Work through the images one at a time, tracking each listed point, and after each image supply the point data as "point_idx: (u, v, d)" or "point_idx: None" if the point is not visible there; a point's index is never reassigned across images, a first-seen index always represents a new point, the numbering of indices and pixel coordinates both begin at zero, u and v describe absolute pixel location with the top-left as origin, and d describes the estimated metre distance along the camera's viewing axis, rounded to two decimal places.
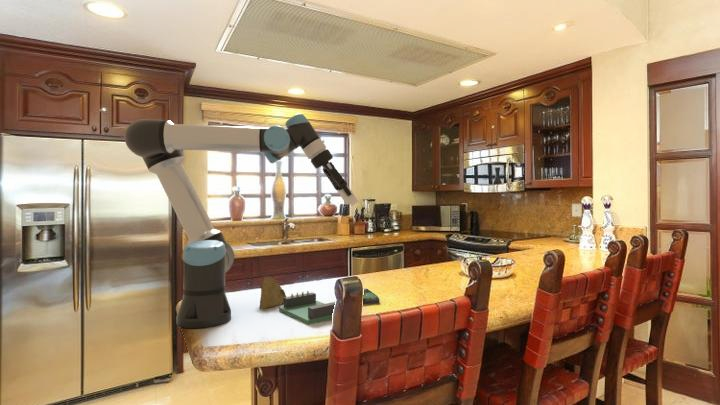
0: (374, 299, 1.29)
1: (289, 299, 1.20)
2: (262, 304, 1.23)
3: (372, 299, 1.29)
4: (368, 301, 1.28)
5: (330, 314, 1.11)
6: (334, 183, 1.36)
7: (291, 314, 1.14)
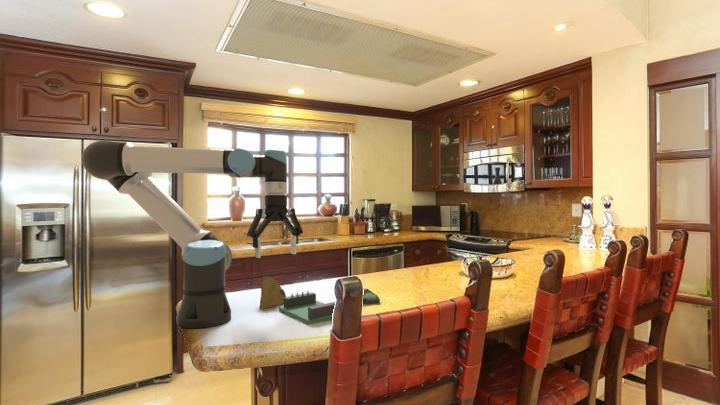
0: (374, 299, 1.29)
1: (289, 299, 1.20)
2: (262, 304, 1.23)
3: (372, 299, 1.29)
4: (368, 301, 1.28)
5: (330, 314, 1.11)
6: (287, 227, 1.32)
7: (291, 314, 1.14)
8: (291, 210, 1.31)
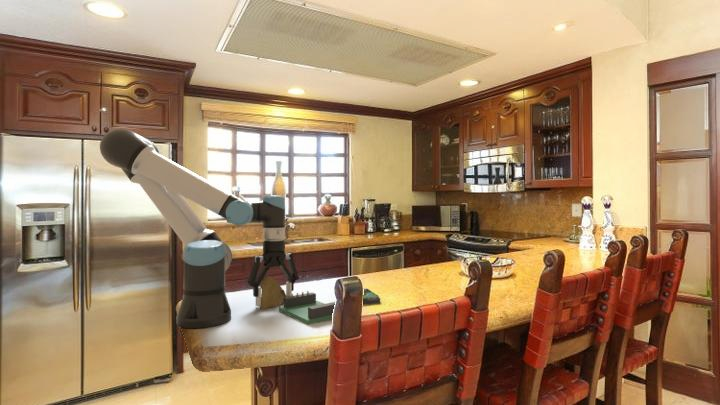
0: (375, 299, 1.29)
1: (289, 299, 1.20)
2: (263, 304, 1.23)
3: (373, 299, 1.29)
4: (369, 301, 1.29)
5: (330, 314, 1.11)
6: (284, 273, 1.31)
7: (291, 314, 1.14)
8: (289, 255, 1.31)
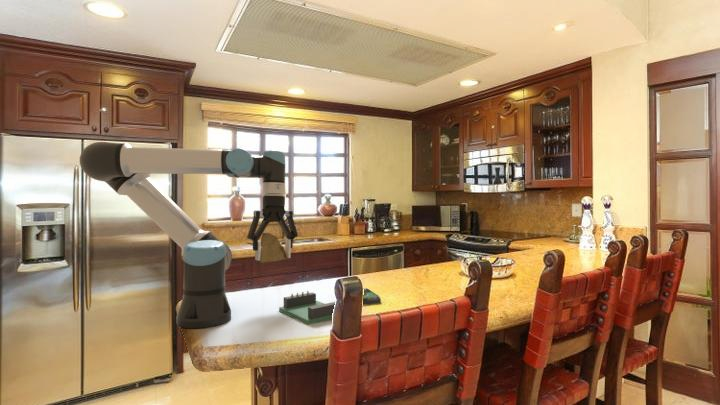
0: (375, 299, 1.29)
1: (289, 299, 1.20)
2: (262, 258, 1.23)
3: (373, 299, 1.29)
4: (369, 301, 1.29)
5: (330, 314, 1.11)
6: (283, 230, 1.31)
7: (291, 314, 1.14)
8: (289, 212, 1.31)
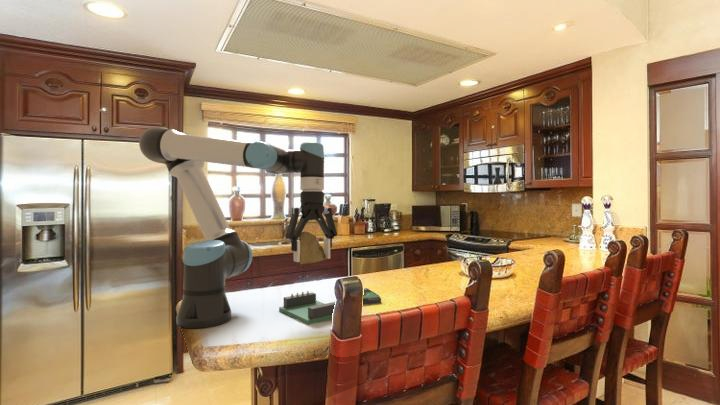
0: (376, 299, 1.29)
1: (289, 299, 1.20)
2: (302, 259, 1.13)
3: (374, 299, 1.29)
4: (370, 301, 1.29)
5: (330, 314, 1.11)
6: (322, 228, 1.21)
7: (291, 314, 1.14)
8: (328, 209, 1.21)
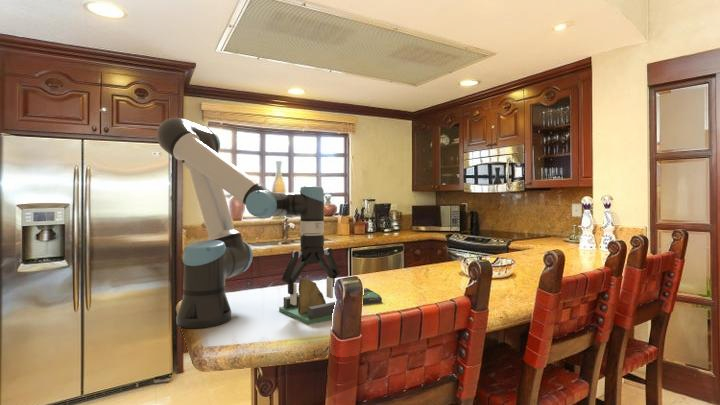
0: (377, 298, 1.30)
1: (289, 299, 1.20)
2: (302, 308, 1.13)
3: (375, 298, 1.30)
4: (371, 300, 1.29)
5: (330, 314, 1.11)
6: (324, 269, 1.21)
7: (291, 314, 1.14)
8: (328, 250, 1.21)
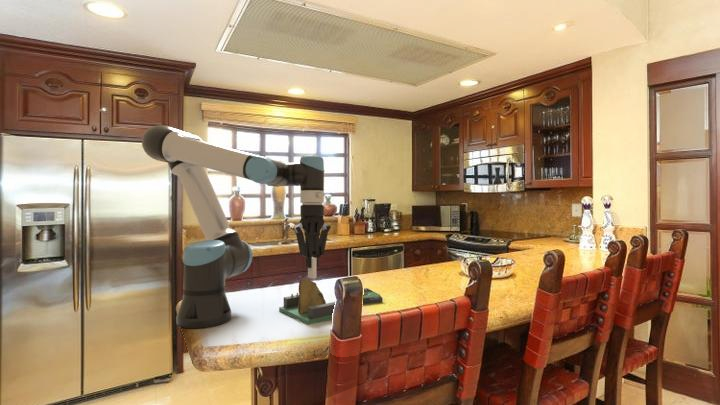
0: (377, 298, 1.30)
1: (289, 299, 1.20)
2: (302, 308, 1.13)
3: (375, 298, 1.30)
4: (372, 300, 1.29)
5: (330, 314, 1.11)
6: (312, 244, 1.19)
7: (291, 314, 1.14)
8: (327, 226, 1.20)
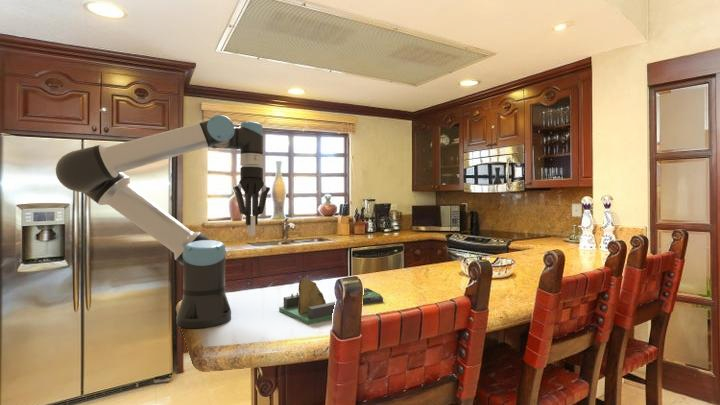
0: (378, 298, 1.30)
1: (289, 299, 1.20)
2: (302, 308, 1.13)
3: (376, 298, 1.30)
4: (372, 300, 1.30)
5: (330, 314, 1.11)
6: (252, 204, 1.29)
7: (291, 314, 1.14)
8: (266, 188, 1.31)
